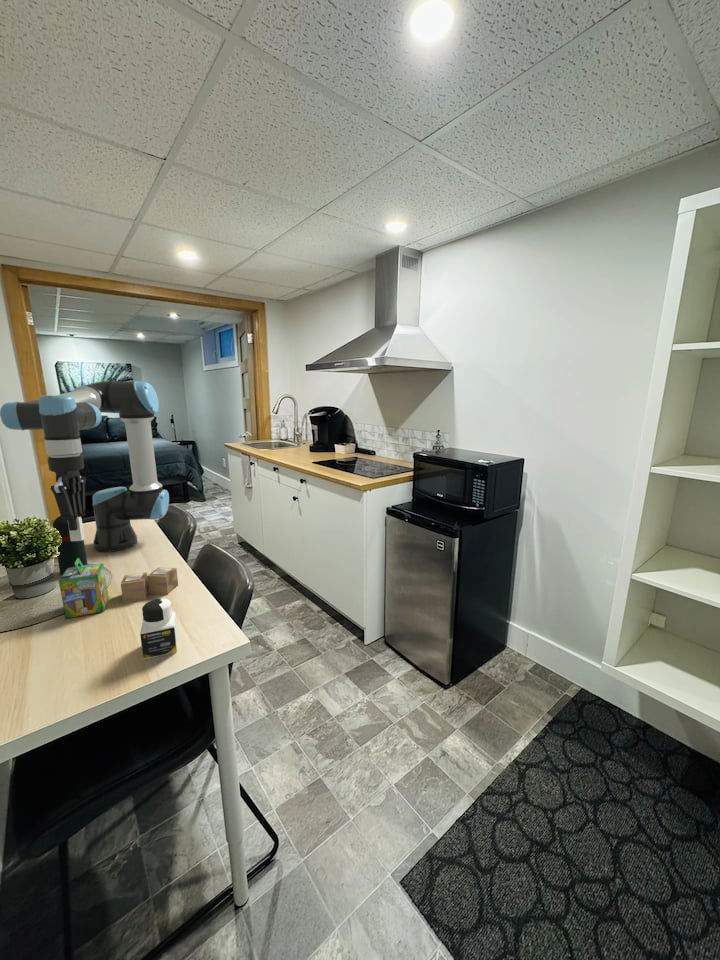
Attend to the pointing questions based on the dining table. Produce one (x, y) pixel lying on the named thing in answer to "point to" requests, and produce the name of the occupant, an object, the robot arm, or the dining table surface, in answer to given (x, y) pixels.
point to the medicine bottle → (158, 629)
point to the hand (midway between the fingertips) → (77, 540)
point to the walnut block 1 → (134, 587)
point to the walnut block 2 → (162, 580)
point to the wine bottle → (68, 547)
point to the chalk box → (83, 589)
